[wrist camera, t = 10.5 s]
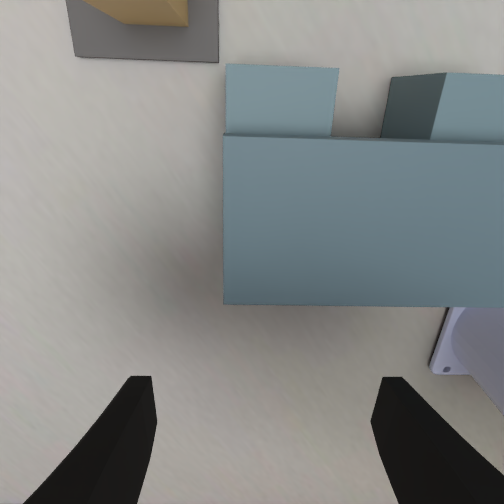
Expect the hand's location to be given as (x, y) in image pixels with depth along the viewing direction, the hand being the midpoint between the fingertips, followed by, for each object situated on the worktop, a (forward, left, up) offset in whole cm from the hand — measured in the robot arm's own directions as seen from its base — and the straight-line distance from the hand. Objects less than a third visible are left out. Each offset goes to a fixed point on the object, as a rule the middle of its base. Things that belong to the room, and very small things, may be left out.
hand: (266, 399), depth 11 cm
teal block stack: (-4, -6, -9) cm, 12 cm away
